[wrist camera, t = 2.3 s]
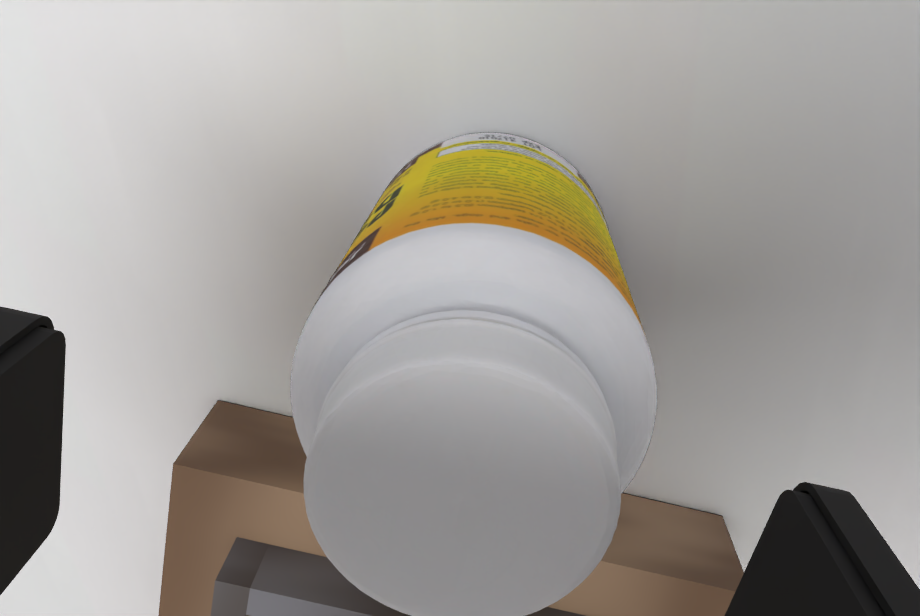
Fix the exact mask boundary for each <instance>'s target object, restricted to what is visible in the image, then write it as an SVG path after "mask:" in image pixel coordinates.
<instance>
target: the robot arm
mask: <svg viewBox="0 0 920 616" xmlns="http://www.w3.org/2000/svg"><path fill="white" fill-rule="evenodd" d="M65 347H66V344H65V337H64V334H63V333H62V332H61V331H56V330H54V327H53V324H52V321H51V320H50V319H49V318H48V317H46V316H42V315H37V314H32V313H28V312H23V311H19V310H14V309H9V308H5V307H0V595H1V594H2V592H3V591H4V590H5V589H6V588H7V586H8V585H9V584H10V583H11V581H12V580H13V579H14V578H15V576H16V575H17V574H18V573H19V571H20V570H21V569H22V568H23V566H24V565H25V564H26V563H27V562H28V560H29V559H30V558H31V557H32V555H33V554H34V553H35V552H36V550H37V549H38V548H39V547H40V545H41V544H42V543H43V542H44V540H45V539H46V538H47V537H48V535H49V534H50V532H51V530H52V528H53V526H54V524H55V521H56V519H57V515H58V511H59V503H60V477H61V451H62V425H63V399H64V373H65ZM725 616H920V589H919V588H918V587H917V585H916V584H915V582H914V581H913V580H912V578H911V577H910V575H909V574H908V572H907V571H906V570H905V568H904V567H903V565H902V564H901V563H900V561H899V560H898V558H897V557H896V555H895V554H894V553H893V551H892V550H891V548H890V547H889V546H888V544H887V543H886V541H885V540H884V538H883V537H882V536H881V534H880V533H879V531H878V530H877V529H876V527H875V526H874V524H873V523H872V521H871V520H870V519H869V517H868V516H867V514H866V513H865V512H864V510H863V509H862V507H861V506H860V504H859V503H858V502H857V500H856V499H855V497H854V496H853V495H852V494H851V493H850V492H847V491H844V490H839V489H834V488H830V487H825V486H821V485H816V484H812V483H807V482H803V483H800V484H799V485H798V486H796V487H795V488H794V490H793V491H792V490H786V491H784V492H783V493H782V494H781V495H780V497H779V498H778V500H777V502H776V504H775V507H774V509H773V511H772V513H771V515H770V517H769V520H768V522H767V524H766V526H765V528H764V531H763V533H762V535H761V537H760V539H759V541H758V544H757V546H756V548H755V550H754V552H753V555H752V557H751V559H750V561H749V563H748V565H747V568H746V570H745V572H744V574H743V576H742V579H741V581H740V583H739V585H738V587H737V589H736V592H735V594H734V596H733V598H732V600H731V602H730V605H729V607H728V609H727V611H726V613H725Z"/></svg>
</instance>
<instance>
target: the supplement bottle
mask: <svg viewBox="0 0 920 616" xmlns="http://www.w3.org/2000/svg"><path fill="white" fill-rule="evenodd" d="M291 405H292V413H293V419H294V422H295V426H296V430H297V433H298V436H299V439H300V442H301V445H302V447H303V450H304V452H305V454H306V456H307V459H306V463H305V470H304V480H303V482H304V499H305V507H306V513H307V516H308V520H309V523H310V526H311V529H312V531H313V533H314V535H315V537H316V539H317V541H318V543H319V545H320V546H321V548H322V550H323V551H324V553H325V555H326V556H327V558H328V559H329V560H330V561H331V563H332V564H333V565H334V566H335V567H336V568H337V570H338V571H339V572H340V573H341V574H342V575H343V576H344V577H345V578H346V579H347V580H348V581H349V582H351V583H352V584H353V585H354V586H356V587H357V588H358V589H359V590H360V591H362V592H363V593H365V594H367V595H368V596H370V597H371V598H373V599H375V600H376V601H378V602H380V603H382V604H384V605H386V606H388V607H390V608H392V609H395V610H397V611H399V612H402V613H404V614H407V615H411V616H525V615H528V614H531V613H534V612H537V611H539V610H541V609H543V608H545V607H547V606H549V605H551V604H553V603H555V602H557V601H558V600H560V599H561V598H563V597H564V596H566V595H567V594H569V593H570V592H571V591H572V590H573V589H575V588H576V587H577V586H578V585H580V584H581V583H582V582H583V581H584V580H585V579H586V578H587V577H588V576H589V575H590V574H591V572H592V571H593V570H594V569H595V567H596V566H597V565H598V564H599V562H600V561H601V560H602V558H603V556H604V554H605V552H606V550H607V548H608V547H609V545H610V543H611V541H612V538H613V535H614V532H615V530H616V528H617V523H618V518H619V515H620V505H621V494H622V492H623V491H624V490H625V489H626V487H627V486H628V485H629V483H630V482H631V481H632V479H633V478H634V476H635V474H636V472H637V470H638V469H639V467H640V465H641V463H642V461H643V459H644V457H645V454H646V452H647V449H648V446H649V444H650V440H651V437H652V433H653V428H654V423H655V417H656V409H657V383H656V376H655V370H654V364H653V360H652V356H651V352H650V348H649V345H648V342H647V339H646V336H645V333H644V331H643V328H642V325H641V322H640V319H639V316H638V314H637V311H636V308H635V305H634V302H633V300H632V297H631V294H630V291H629V288H628V285H627V282H626V279H625V276H624V273H623V270H622V268H621V265H620V262H619V259H618V256H617V253H616V251H615V248H614V245H613V242H612V239H611V237H610V234H609V231H608V228H607V225H606V222H605V219H604V215H603V213H602V211H601V208H600V206H599V204H598V202H597V200H596V198H595V196H594V194H593V192H592V190H591V188H590V187H589V185H588V184H587V182H586V181H585V179H584V178H583V177H582V176H581V174H580V173H579V172H578V171H577V170H576V169H575V168H574V167H573V166H572V165H571V164H570V163H569V162H567V161H566V160H565V159H564V158H562V157H561V156H560V155H558V154H557V153H555V152H554V151H552V150H550V149H549V148H547V147H545V146H543V145H541V144H539V143H536V142H534V141H532V140H529V139H526V138H522V137H519V136H514V135H509V134H502V133H475V134H467V135H462V136H458V137H455V138H451V139H449V140H446V141H443V142H441V143H438V144H436V145H434V146H432V147H430V148H428V149H426V150H425V151H423V152H422V153H420V154H419V155H417V156H416V157H414V158H413V159H412V160H411V161H410V162H409V163H407V164H406V165H405V166H404V167H403V168H402V169H401V170H400V172H399V173H398V174H397V175H396V176H395V177H394V178H393V180H392V181H391V182H390V184H389V185H388V187H387V188H386V189H385V191H384V192H383V194H382V196H381V197H380V199H379V200H378V202H377V204H376V205H375V207H374V209H373V210H372V212H371V214H370V215H369V217H368V219H367V220H366V222H365V223H364V224H363V226H362V228H361V230H360V232H359V233H358V235H357V236H356V238H355V240H354V241H353V243H352V245H351V247H350V248H349V250H348V252H347V253H346V255H345V257H344V258H343V260H342V262H341V263H340V265H339V267H338V268H337V270H336V271H335V272H334V274H333V275H332V276H331V278H330V280H329V282H328V284H327V286H326V287H325V289H324V290H323V292H322V294H321V295H320V297H319V299H318V300H317V302H316V304H315V306H314V307H313V309H312V312H311V313H310V315H309V317H308V319H307V321H306V323H305V325H304V328H303V330H302V333H301V335H300V338H299V341H298V344H297V347H296V351H295V354H294V358H293V364H292V372H291Z"/></svg>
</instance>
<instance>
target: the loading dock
mask: <svg viewBox="0 0 920 616" xmlns="http://www.w3.org/2000/svg"><path fill="white" fill-rule="evenodd" d="M306 459H307V456H306V454H305V452H304V450H303V447H302V445H301V442H300V439H299V436H298V433H297V430H296V426H295V422H294V419H293V417H288V416H284V415H279V414H275V413H271V412H266V411H262V410H258V409H253V408H249V407H245V406H240V405H236V404H232V403H227V402H223V401H217V402H216V404H215V405H214V407H213V408H212V410H211V411H210V412H209V414H208V415H207V417H206V418H205V419H204V421H203V422H202V424H201V425H200V427H199V428H198V429H197V431H196V432H195V434H194V435H193V437H192V438H191V439H190V441H189V442H188V444H187V445H186V446H185V448H184V449H183V451H182V452H181V454H180V455H179V456H178V458H177V459H176V461H175V462H174V464H173V472H172V482H171V493H170V503H169V513H168V524H167V534H166V544H165V555H164V565H163V575H162V586H161V596H160V607H159V616H411V615H407V614H404V613H402V612H399V611H397V610H395V609H392V608H390V607H388V606H386V605H384V604H382V603H380V602H378V601H376V600H375V599H373V598H371V597H370V596H368V595H367V594H365V593H363V592H362V591H360V590H359V589H358V588H357V587H356V586H354V585H353V584H352V583H351V582H349V581H348V580H347V579H346V578H345V577H344V576H343V575H342V574H341V573H340V572H339V571H338V570H337V568H336V567H335V566H334V565H333V564H332V563H331V561H330V560H329V559H328V558H327V556H326V555H325V553H324V551H323V550H322V548H321V546H320V545H319V543H318V541H317V539H316V537H315V535H314V533H313V531H312V529H311V526H310V523H309V520H308V516H307V513H306V507H305V499H304V482H303V480H304V470H305V463H306ZM743 574H744V572H743V569H742V567H741V564H740V561H739V559H738V556H737V553H736V551H735V548H734V546H733V543H732V540H731V538H730V535H729V532H728V530H727V527H726V525H725V522H724V519H723V517H722V516H720V515H715V514H711V513H707V512H702V511H698V510H694V509H689V508H685V507H680V506H676V505H672V504H667V503H663V502H659V501H654V500H650V499H646V498H641V497H637V496H633V495H628V494H624V493H622V494H621V505H620V515H619V518H618V523H617V528H616V530H615V532H614V535H613V538H612V541H611V543H610V545H609V547H608V548H607V550H606V552H605V554H604V556H603V558H602V560H601V561H600V562H599V564H598V565H597V566H596V567H595V569H594V570H593V571H592V572H591V574H590V575H589V576H588V577H587V578H586V579H585V580H584V581H583V582H582V583H581V584H580V585H578V586H577V587H576V588H575V589H573V590H572V591H571V592H570V593H569V594H567V595H566V596H564V597H563V598H561V599H560V600H558V601H557V602H555V603H553V604H551V605H549V606H547V607H545V608H543V609H541V610H539V611H537V612H534V613H531V614H528V615H525V616H725V613H726V611H727V609H728V607H729V605H730V602H731V600H732V598H733V596H734V594H735V592H736V589H737V587H738V585H739V583H740V581H741V579H742V576H743Z"/></svg>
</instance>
